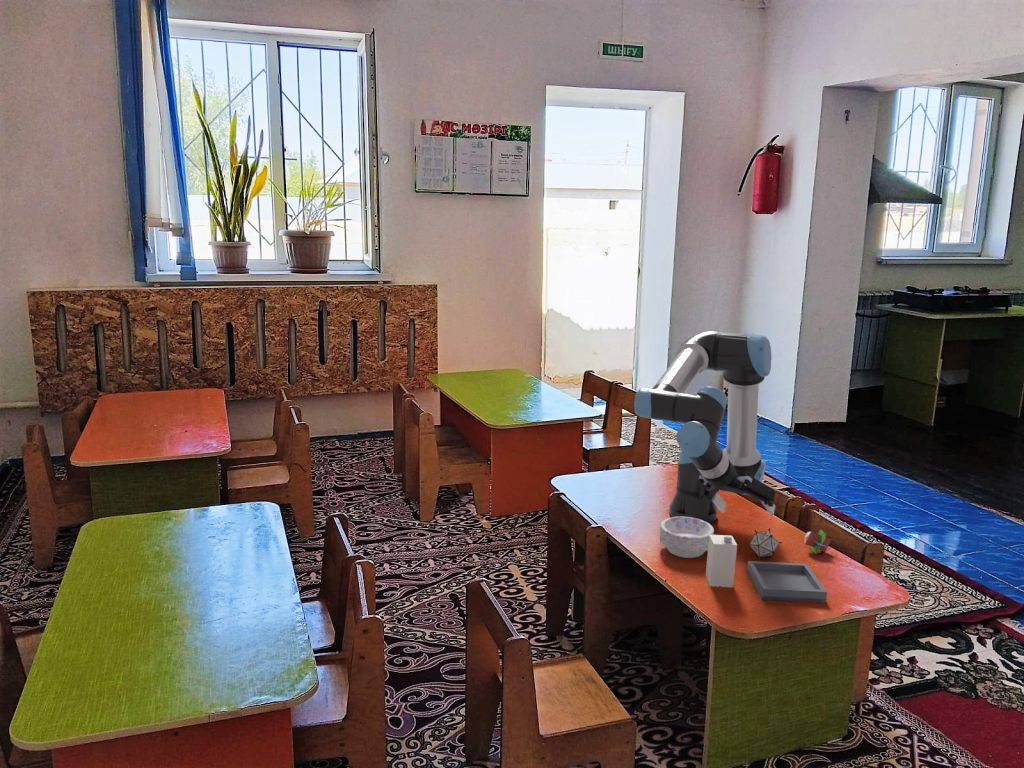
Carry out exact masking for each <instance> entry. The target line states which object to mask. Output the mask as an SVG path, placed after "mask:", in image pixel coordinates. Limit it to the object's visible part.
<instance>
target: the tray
mask: <svg viewBox="0 0 1024 768" xmlns="http://www.w3.org/2000/svg"><path fill="white" fill-rule="evenodd" d="M746 572H747V574H748V576H749V578H750V577H751V578H750V580H751V582H752V581H753V582H752V583H754V584H753V585H754V587H755V589H756V591H757V592H758V595H759V596H760V598H761V600H763V601H780V602H781V601H784V602H785V601H786V602H787V601H788V602H799V603H800V602H801V603H802V602H803V603H804V602H805V603H821V604H822V603H823V604H827V596H828V591H827V590H826V588H825V587H824V586H823V584H822V583H821V581H820V580H819V578H818V577H817V576H816V574H815V573H814V572H813V570H812V569H811V568H810V566H809V565H808V563H795V562H793V563H792V562H779V561H778V562H776V561H775V562H774V561H755V560H754V561H752V560H748V561H747V567H746Z"/></svg>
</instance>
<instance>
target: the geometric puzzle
mask: <svg viewBox="0 0 1024 768" xmlns="http://www.w3.org/2000/svg"><path fill="white" fill-rule="evenodd" d="M803 540H804V545H806V546H808V547H809V550H811V551H812V552H813V553H814V555H818V552H820V554H823V553H826V552H827V551H828V550H830V549H831V546H830V545H831V542H832V538H830V536H829V535H828V534H827V533H825V531H823V529H822V528H819V529H818V532H817V531H814V530H813V531H807V532H806V534H805V535H804V538H803ZM819 550H820V551H819ZM823 551H824V552H823Z"/></svg>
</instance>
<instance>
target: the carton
mask: <svg viewBox="0 0 1024 768" xmlns="http://www.w3.org/2000/svg"><path fill="white" fill-rule="evenodd" d="M737 549H738V544H737V542H736V540H735V539H734V537H733V535H729V534H728V535H727V534H726V535H725V534H724V535H723V534H714V535H709V544H708V550H707V557H706V566H705V567H706V569H705V578H706V577H707V578H706V579H707V583H708V582H709V583H708V585H709V587H715V586H716V587H715V588H717V587H718V588H719V586H721V587H720V588H734V583H735V582H734V581H735V580H734V579H735V571H736V560H737V551H738V550H737Z"/></svg>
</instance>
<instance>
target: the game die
mask: <svg viewBox="0 0 1024 768" xmlns="http://www.w3.org/2000/svg"><path fill="white" fill-rule="evenodd" d="M780 544H783V542H782V541H779V540H778V539H777V538H776V537H775V536H774V535H773V533H772V532H771V527H769V528H768V530H764V531H758V530H756V529H754V534H753V537H752V539H751V541H750V543H746V546H749V547H750V548H751V549H752V550H753V551H754V553H755V554H756V555H757V556H758V557H757V559H759V560H760V559H761V558H764V557H770V556H771V558H773V557H774V558H775V552H776V550H777V548H778V546H779V545H780Z"/></svg>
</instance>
